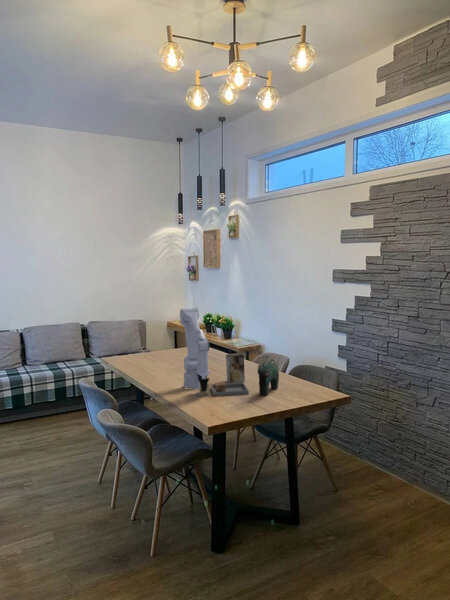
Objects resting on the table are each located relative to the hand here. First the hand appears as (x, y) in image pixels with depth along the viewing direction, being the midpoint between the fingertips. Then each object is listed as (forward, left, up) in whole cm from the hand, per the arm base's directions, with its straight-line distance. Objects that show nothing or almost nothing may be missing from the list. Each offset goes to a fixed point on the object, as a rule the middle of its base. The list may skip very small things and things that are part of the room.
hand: (203, 389), depth 230 cm
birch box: (0, 0, -3) cm, 3 cm away
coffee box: (+20, +22, -3) cm, 30 cm away
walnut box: (+9, 0, -3) cm, 9 cm away
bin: (+14, +3, -3) cm, 15 cm away
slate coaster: (0, 0, -3) cm, 3 cm away
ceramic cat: (+34, -2, -3) cm, 34 cm away
